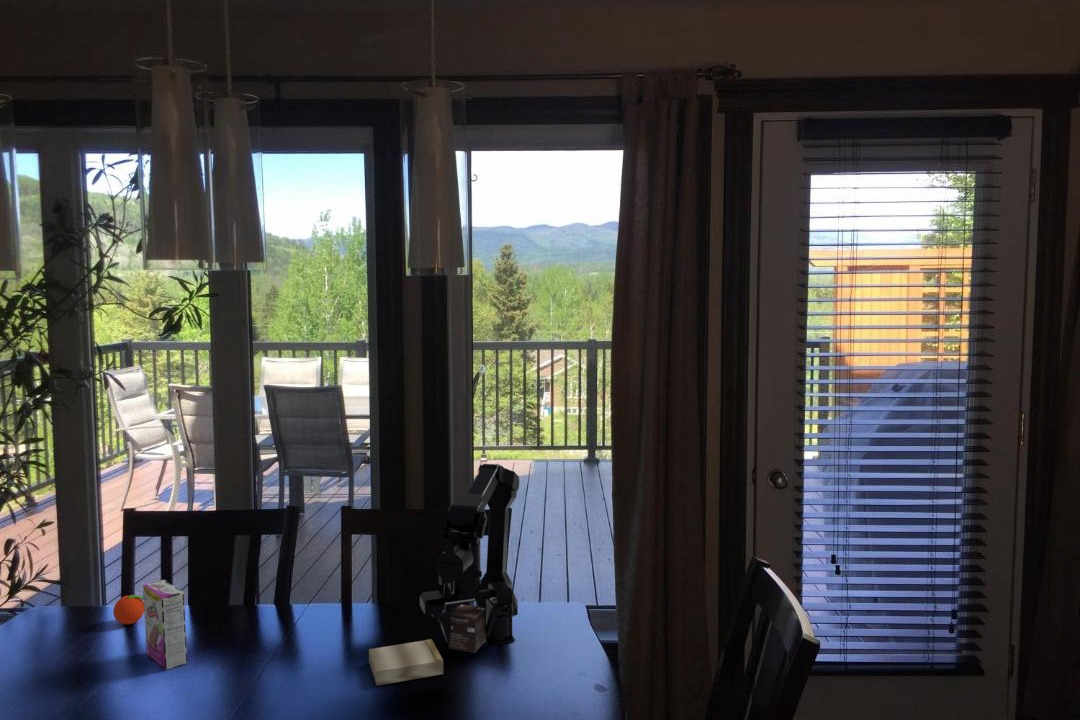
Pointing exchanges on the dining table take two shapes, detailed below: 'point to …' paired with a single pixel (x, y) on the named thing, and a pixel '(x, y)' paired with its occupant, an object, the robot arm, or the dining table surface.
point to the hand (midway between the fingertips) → (467, 637)
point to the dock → (405, 662)
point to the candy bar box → (165, 624)
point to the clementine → (129, 609)
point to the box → (467, 628)
